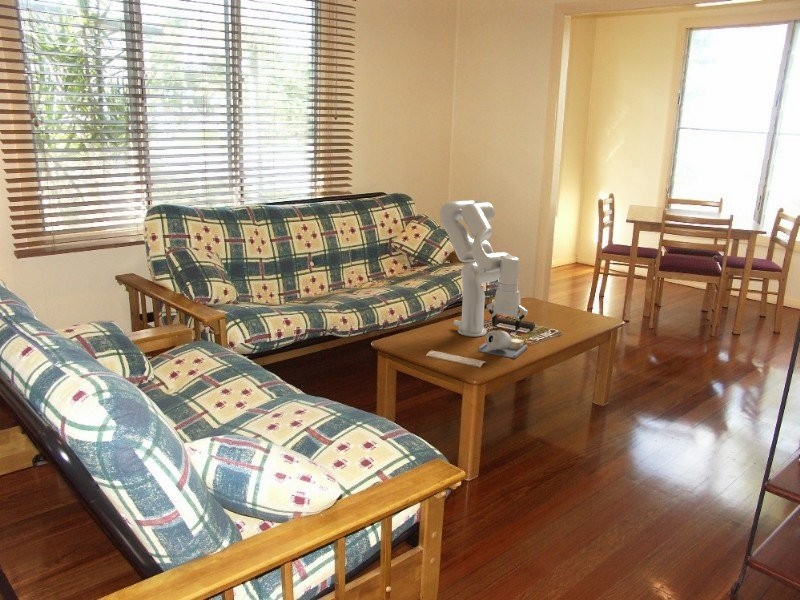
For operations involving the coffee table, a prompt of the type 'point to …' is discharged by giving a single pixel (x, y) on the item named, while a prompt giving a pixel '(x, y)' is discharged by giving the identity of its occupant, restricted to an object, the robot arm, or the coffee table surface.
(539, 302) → the coffee table surface
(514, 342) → the ledge
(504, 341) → the can
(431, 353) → the newspaper
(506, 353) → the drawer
